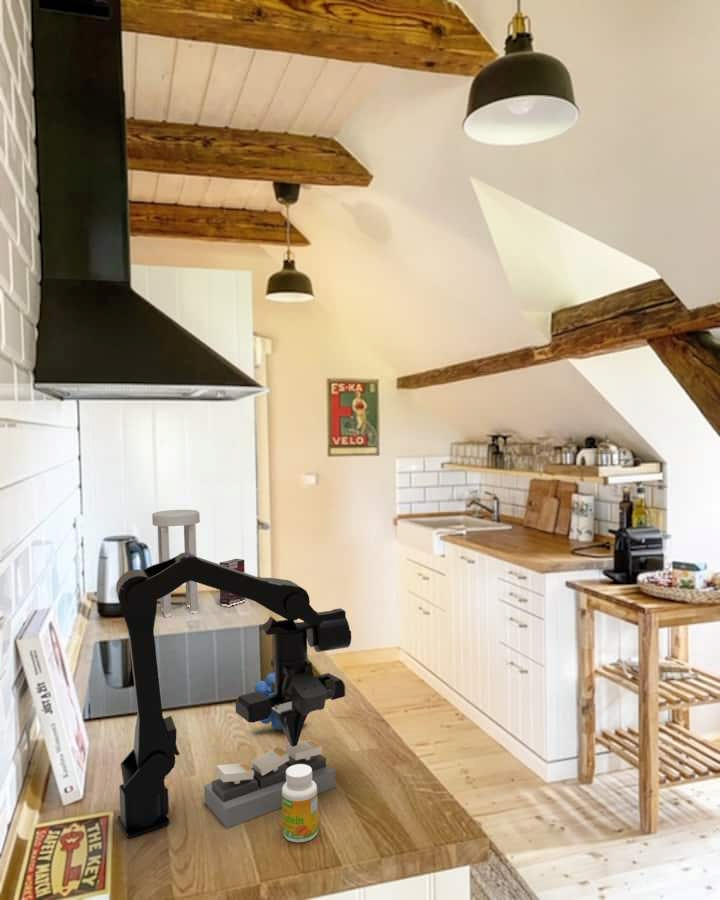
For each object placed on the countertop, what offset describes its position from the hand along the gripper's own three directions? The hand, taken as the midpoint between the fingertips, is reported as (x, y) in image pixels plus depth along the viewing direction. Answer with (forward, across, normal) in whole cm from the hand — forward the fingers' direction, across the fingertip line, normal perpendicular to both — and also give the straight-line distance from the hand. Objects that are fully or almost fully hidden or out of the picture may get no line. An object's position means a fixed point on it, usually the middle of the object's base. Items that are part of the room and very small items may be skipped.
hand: (293, 745), depth 117 cm
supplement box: (+7, +45, +126) cm, 134 cm away
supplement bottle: (+8, -6, -12) cm, 16 cm away
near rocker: (+2, -11, 0) cm, 11 cm away
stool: (+7, +26, +129) cm, 132 cm away
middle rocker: (+2, -4, 0) cm, 5 cm away
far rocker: (+2, +2, 0) cm, 3 cm away
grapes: (+7, +9, +21) cm, 24 cm away
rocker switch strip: (+7, -4, 0) cm, 8 cm away
